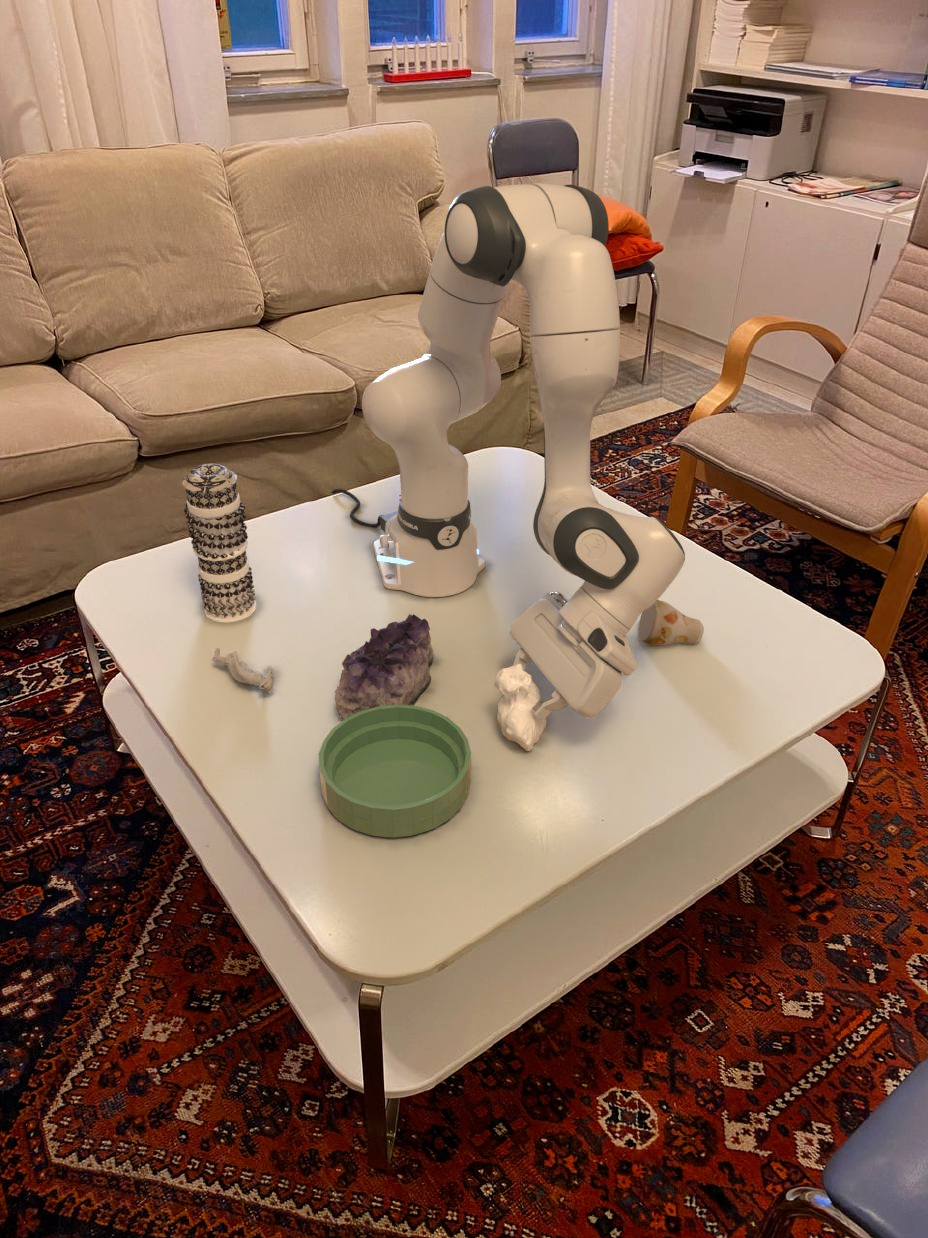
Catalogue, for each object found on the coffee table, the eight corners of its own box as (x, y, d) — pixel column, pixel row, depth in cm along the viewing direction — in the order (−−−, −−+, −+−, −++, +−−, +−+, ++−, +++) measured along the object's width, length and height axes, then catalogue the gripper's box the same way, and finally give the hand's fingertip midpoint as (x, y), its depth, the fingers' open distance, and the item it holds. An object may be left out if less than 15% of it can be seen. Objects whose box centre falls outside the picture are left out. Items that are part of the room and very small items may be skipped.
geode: (379, 641, 150) (385, 589, 144) (446, 665, 147) (456, 613, 142) (319, 717, 133) (323, 661, 128) (394, 745, 131) (402, 690, 125)
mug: (710, 655, 148) (690, 616, 141) (650, 669, 152) (628, 632, 145) (706, 618, 153) (686, 579, 146) (648, 633, 156) (626, 596, 150)
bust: (522, 714, 139) (477, 660, 135) (566, 693, 136) (520, 638, 131) (513, 770, 129) (463, 715, 125) (559, 750, 126) (510, 692, 122)
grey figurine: (246, 659, 147) (297, 666, 140) (237, 689, 146) (287, 698, 139) (207, 643, 141) (258, 651, 134) (196, 675, 140) (247, 684, 133)
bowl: (304, 757, 128) (301, 727, 125) (436, 720, 134) (436, 690, 131) (349, 860, 113) (346, 828, 110) (494, 812, 120) (495, 781, 117)
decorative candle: (219, 631, 152) (195, 490, 137) (191, 606, 157) (166, 469, 143) (269, 610, 156) (251, 472, 142) (240, 586, 162) (220, 452, 148)
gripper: (541, 576, 134) (477, 648, 136) (618, 655, 119) (544, 735, 121) (566, 595, 138) (504, 665, 140) (644, 674, 123) (572, 752, 125)
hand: (523, 698), depth 130 cm, fingers closed on bust, 6 cm apart
